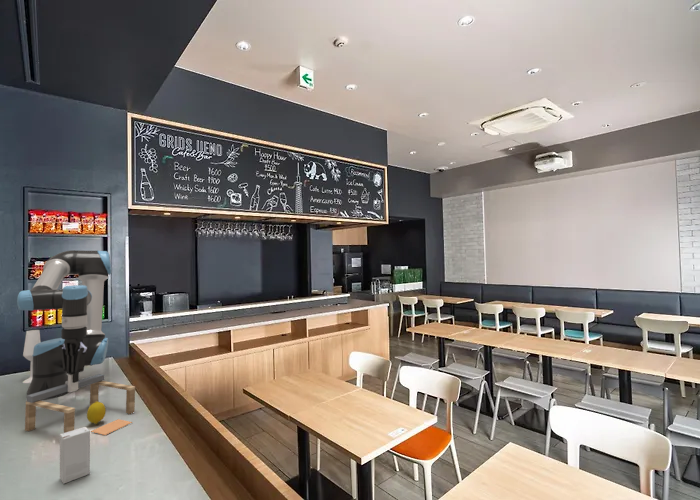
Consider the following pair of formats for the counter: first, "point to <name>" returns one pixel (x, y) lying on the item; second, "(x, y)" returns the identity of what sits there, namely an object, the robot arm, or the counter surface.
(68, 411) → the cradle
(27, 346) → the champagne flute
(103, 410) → the lemon
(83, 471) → the skincare box
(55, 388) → the bar
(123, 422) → the pad
